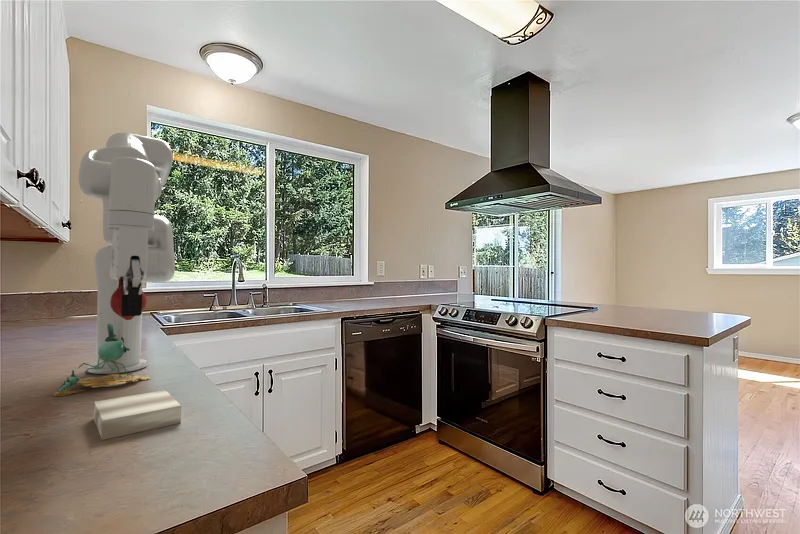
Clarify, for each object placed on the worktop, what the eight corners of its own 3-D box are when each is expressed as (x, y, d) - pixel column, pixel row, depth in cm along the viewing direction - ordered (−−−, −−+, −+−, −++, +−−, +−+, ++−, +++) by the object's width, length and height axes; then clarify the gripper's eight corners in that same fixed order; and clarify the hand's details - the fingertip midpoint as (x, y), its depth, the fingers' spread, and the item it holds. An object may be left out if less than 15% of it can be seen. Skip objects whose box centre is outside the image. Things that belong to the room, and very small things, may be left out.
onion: (127, 322, 74) (128, 280, 74) (101, 321, 75) (103, 279, 75) (152, 319, 80) (153, 279, 80) (128, 317, 81) (130, 278, 81)
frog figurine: (47, 389, 84) (59, 319, 86) (143, 382, 97) (153, 322, 99) (53, 399, 78) (66, 324, 79) (155, 391, 91) (165, 326, 92)
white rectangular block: (93, 418, 69) (94, 401, 69) (164, 405, 77) (165, 389, 77) (102, 440, 61) (102, 420, 61) (180, 422, 69) (181, 405, 69)
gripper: (102, 223, 81) (98, 310, 81) (115, 217, 69) (111, 320, 69) (144, 226, 87) (141, 309, 86) (164, 221, 74) (160, 317, 74)
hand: (128, 313), depth 78 cm, fingers closed on onion, 5 cm apart
